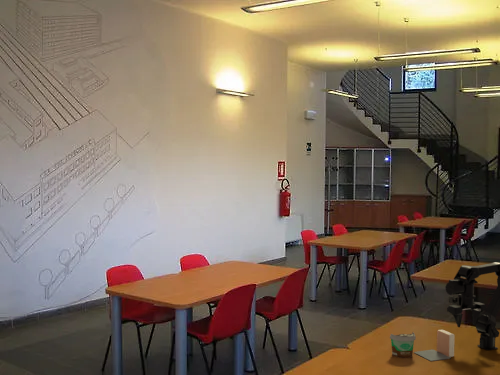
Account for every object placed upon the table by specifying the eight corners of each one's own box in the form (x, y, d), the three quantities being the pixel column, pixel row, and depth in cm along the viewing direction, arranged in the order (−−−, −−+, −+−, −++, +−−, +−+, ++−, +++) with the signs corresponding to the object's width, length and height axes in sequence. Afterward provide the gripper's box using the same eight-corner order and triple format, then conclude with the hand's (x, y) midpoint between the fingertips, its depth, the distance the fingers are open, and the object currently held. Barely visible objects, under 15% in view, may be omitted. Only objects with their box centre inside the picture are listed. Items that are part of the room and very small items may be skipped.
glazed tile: (441, 350, 254) (442, 329, 254) (453, 356, 247) (454, 334, 247) (436, 351, 253) (437, 330, 253) (448, 357, 246) (449, 335, 246)
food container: (396, 360, 241) (396, 337, 241) (389, 355, 247) (389, 333, 247) (420, 357, 245) (421, 335, 244) (413, 353, 250) (413, 331, 250)
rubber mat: (432, 350, 255) (432, 349, 255) (450, 358, 244) (450, 357, 244) (413, 352, 251) (413, 352, 251) (430, 361, 240) (430, 360, 240)
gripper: (470, 287, 264) (469, 319, 265) (439, 291, 258) (438, 323, 258) (487, 292, 254) (487, 325, 255) (455, 296, 247) (455, 330, 248)
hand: (466, 326), depth 254 cm, fingers open, 9 cm apart
